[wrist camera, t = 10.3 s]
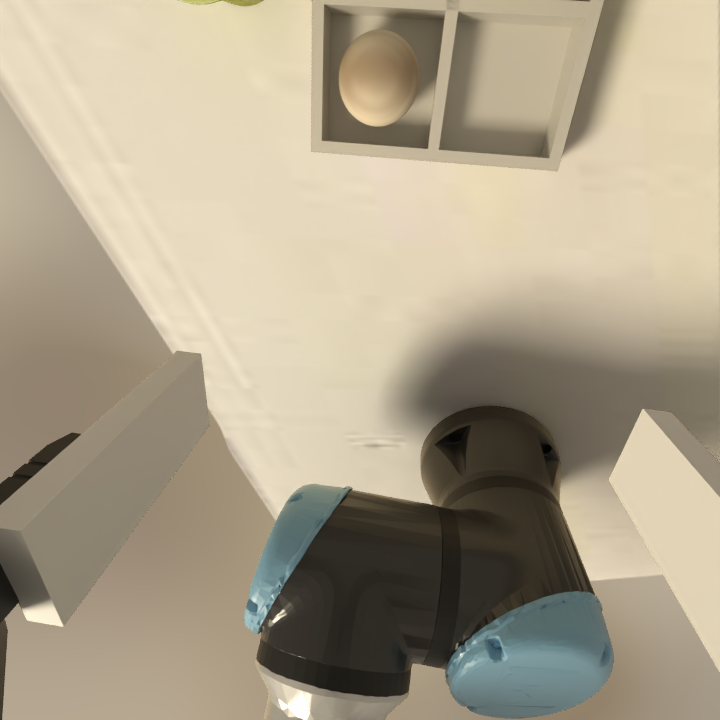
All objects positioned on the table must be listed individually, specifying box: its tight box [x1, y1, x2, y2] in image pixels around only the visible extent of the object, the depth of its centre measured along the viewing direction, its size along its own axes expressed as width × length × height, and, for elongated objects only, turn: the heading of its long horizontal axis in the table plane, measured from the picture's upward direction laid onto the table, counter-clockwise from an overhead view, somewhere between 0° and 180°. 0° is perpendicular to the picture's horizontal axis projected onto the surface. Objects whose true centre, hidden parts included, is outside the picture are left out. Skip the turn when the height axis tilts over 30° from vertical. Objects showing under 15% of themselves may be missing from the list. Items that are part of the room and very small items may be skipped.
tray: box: [311, 0, 604, 171], centre depth 28 cm, size 18×18×4 cm
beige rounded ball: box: [339, 29, 419, 127], centre depth 29 cm, size 6×6×6 cm
